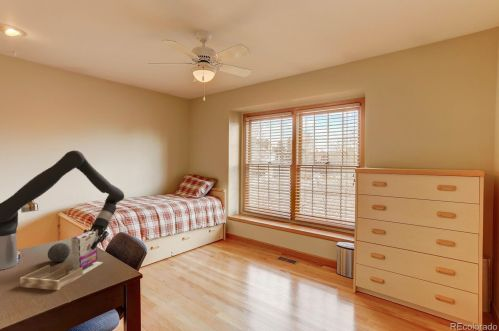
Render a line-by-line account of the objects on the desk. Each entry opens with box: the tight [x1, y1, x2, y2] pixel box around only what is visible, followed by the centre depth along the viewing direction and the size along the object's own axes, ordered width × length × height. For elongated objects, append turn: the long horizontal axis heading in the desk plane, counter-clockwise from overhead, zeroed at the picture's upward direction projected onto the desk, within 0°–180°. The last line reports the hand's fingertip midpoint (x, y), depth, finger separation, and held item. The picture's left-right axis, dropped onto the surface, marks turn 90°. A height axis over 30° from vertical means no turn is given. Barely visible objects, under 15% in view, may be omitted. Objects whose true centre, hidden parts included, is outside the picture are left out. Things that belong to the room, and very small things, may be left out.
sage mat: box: [66, 261, 104, 275], centre depth 135 cm, size 9×14×1 cm, turn 172°
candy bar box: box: [71, 231, 98, 270], centre depth 135 cm, size 11×5×16 cm, turn 169°
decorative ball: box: [47, 242, 71, 263], centre depth 143 cm, size 10×10×10 cm
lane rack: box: [19, 264, 84, 291], centre depth 121 cm, size 19×14×4 cm
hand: (87, 248), depth 136 cm, fingers closed on candy bar box, 5 cm apart
